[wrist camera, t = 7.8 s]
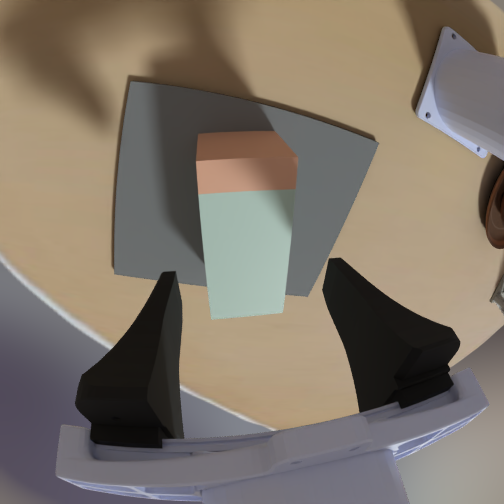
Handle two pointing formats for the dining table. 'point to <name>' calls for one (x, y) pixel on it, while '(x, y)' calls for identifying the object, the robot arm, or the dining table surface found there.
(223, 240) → the green and orange block
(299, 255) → the rubber mat
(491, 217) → the cup and saucer
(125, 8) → the dining table surface
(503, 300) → the skyscraper
